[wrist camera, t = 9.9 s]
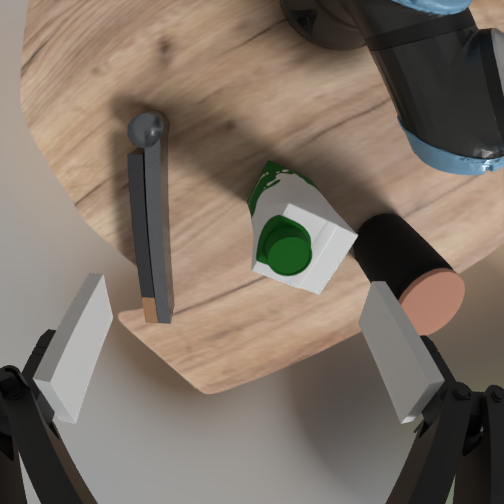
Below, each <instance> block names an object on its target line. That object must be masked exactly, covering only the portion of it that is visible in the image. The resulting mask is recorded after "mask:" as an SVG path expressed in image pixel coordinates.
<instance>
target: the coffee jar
mask: <svg viewBox="0 0 504 504" xmlns="http://www.w3.org/2000/svg"><path fill="white" fill-rule="evenodd" d="M357 235H358V237H357V238H356V240H355V244H354V254H355V259H356V260H357V262H358V263H359V265H360V267H361V268H362V270H363V271H364V273H365V275H366V276H367V278H368V279H369V281H370V283H372V281H385V282H386V284H387V285H388V287H389V288H390V290H391V291H392V293H393V294H394V296H395V297H396V299H397V301H398V302H399V304H400V305H401V307H402V308H403V310H404V312H405V313H406V315H407V316H408V318H409V320H410V321H411V323H412V325H413V326H414V328H415V330H416V331H417V333H418V335H419V336H421V335H426V336H427V335H429V334H431V333H434V332H436V331H437V330H439V329H440V328H441V327H443V326H444V325H445V324H446V323H448V321H449V320H450V319H451V318H452V317H453V316H454V315H455V313H456V312H457V310H458V309H459V307H460V305H461V303H462V300H463V297H464V290H465V287H464V283H463V279H462V278H461V277H460V276H459V275H458V274H457V273H456V272H455V271H454V270H453V268H452V267H451V266H450V265H449V264H448V263H447V262H446V261H445V260H444V259H443V258H442V257H441V256H440V255H439V254H438V253H437V251H436V250H435V249H434V248H433V247H432V246H431V245H430V244H429V243H427V242H426V241H425V240H424V239H423V238H422V237H421V236H420V235H419V234H418V233H417V232H416V231H415V230H414V229H413V228H412V227H411V226H410V225H409V224H408V223H407V222H406V221H405V220H403V219H402V218H401V217H399V216H397V215H394V214H382V215H379V216H376V217H373V218H372V219H370V220H369V221H367V222H366V223H365V224H364V225H363V226H362V227H361V229H360V230H359V232H358V234H357Z"/></svg>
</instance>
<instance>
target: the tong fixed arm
mask: <svg viewBox="0 0 504 504" xmlns="http://www.w3.org/2000/svg"><path fill="white" fill-rule="evenodd" d="M168 130H169V120H168V118H167V116H166V115H165V114H164V113H163V112H161V111H158V110H151V111H148V112H145V113H142V114H139V115H137V116H135V117H134V118H133V119H132V120H131V122H130V123H129V126H128V137H129V139H130V141H131V142H132V143H133V144H134V145H135V146H137V147H140V148H145V179H146V201H147V217H148V231H149V244H150V255H151V265H152V275H153V284H154V292H155V300H156V308H157V315H158V322H159V323H168V324H171V319H172V314H173V309H174V294H173V281H172V267H171V251H170V231H169V205H168Z"/></svg>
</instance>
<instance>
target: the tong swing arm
mask: <svg viewBox="0 0 504 504" xmlns="http://www.w3.org/2000/svg"><path fill="white" fill-rule="evenodd" d="M128 174H129V189H130V203H131V214H132V225H133V234H134V243H135V252H136V260H137V267H138V275H139V281H140V288H141V295H142V303H143V309H144V315H145V321H146V322H148V323H158V315H157V308H156V300H155V292H154V284H153V275H152V265H151V255H150V244H149V231H148V217H147V201H146V179H145V148H140V147H139V148H136V149H135V150H134V151H132V152H131V153H129V154H128Z"/></svg>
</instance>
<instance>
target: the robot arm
mask: <svg viewBox="0 0 504 504" xmlns="http://www.w3.org/2000/svg"><path fill="white" fill-rule="evenodd" d="M472 1H473V0H280V4H281V8H282V11H283V13H284V15H285V17H286V19H287V21H288V22H289V23H290V25H291V26H292V27H293V28H294V29H295V30H296V31H297V32H298V33H299V34H300V35H301V36H303V37H304V38H306V39H307V40H309V41H310V42H312V43H314V44H316V45H319V46H322V47H325V48H328V49H334V50H351V49H356V48H360V47H363V46H366V45H367V46H368V48H369V51H370V53H371V55H372V57H373V59H374V61H375V64H376V66H377V68H378V70H379V72H380V74H381V76H382V78H383V81H384V83H385V85H386V87H387V90H388V92H389V94H390V97H391V99H392V101H393V104H394V106H395V109H396V111H397V114H398V116H397V118H398V121H399V124H400V126H401V127H402V129H403V130H404V131H405V133H406V136H407V138H408V141H409V143H410V146H411V148H412V150H413V151H414V153H415V154H416V155H417V156H418V157H419V158H420V159H421V160H422V161H423V162H424V163H426V164H427V165H429V166H431V167H433V168H435V169H438V170H440V171H443V172H447V173H452V174H458V175H479V174H484V173H485V171H486V170H490V171H496V170H498V169H500V168H502V167H503V166H504V33H503V32H501V31H500V30H499V29H497V28H489V29H481V30H480V29H478V28H477V26H476V24H475V21H474V19H473V16H472V14H471V12H470V10H469V7H468V6H469V4H470V3H471V2H472ZM112 319H113V316H112V311H111V307H110V303H109V299H108V294H107V290H106V285H105V280H104V276H103V274H92V273H89V275H88V276H87V278H86V280H85V281H84V283H83V285H82V286H81V288H80V290H79V292H78V293H77V295H76V297H75V298H74V300H73V302H72V304H71V305H70V307H69V309H68V311H67V313H66V314H65V316H64V318H63V320H62V322H61V323H60V325H59V327H58V329H57V330H50V329H48V330H47V331H46V332H45V333H44V334H43V335H42V336H41V337H40V338H39V340H38V342H37V344H36V347H35V348H34V350H33V351H32V354H31V355H30V357H29V359H28V361H27V363H26V365H25V367H24V369H23V371H22V373H21V372H20V370H19V369H18V368H17V367H15V366H12V365H7V366H4V367H2V368H0V504H27V499H26V495H25V490H24V485H23V479H22V473H21V467H20V460H19V453H20V456H21V458H22V461H23V463H24V466H25V469H26V471H27V473H28V475H29V478H30V480H31V482H32V485H33V487H34V489H35V492H36V494H37V496H38V498H39V500H40V502H41V504H97V502H96V500H95V498H94V497H93V495H92V494H91V492H90V491H89V489H88V487H87V485H86V484H85V482H84V480H83V479H82V477H81V476H80V473H79V472H78V470H77V468H76V466H75V464H74V463H73V461H72V459H71V457H70V455H69V453H68V451H67V449H66V447H65V445H64V443H63V441H62V439H61V437H60V434H59V432H58V430H57V428H56V426H55V424H54V422H53V421H52V419H53V416H54V413H55V414H56V415H57V417H58V418H59V420H61V421H65V422H69V423H73V424H76V422H77V418H78V415H79V412H80V409H81V405H82V402H83V399H84V396H85V393H86V390H87V387H88V384H89V381H90V378H91V375H92V373H93V370H94V367H95V364H96V361H97V359H98V356H99V353H100V350H101V348H102V345H103V342H104V340H105V337H106V335H107V332H108V329H109V327H110V324H111V322H112ZM359 325H360V328H361V330H362V332H363V334H364V337H365V339H366V341H367V343H368V346H369V348H370V350H371V352H372V355H373V357H374V359H375V362H376V364H377V366H378V369H379V371H380V373H381V376H382V378H383V381H384V383H385V385H386V388H387V390H388V393H389V395H390V398H391V400H392V402H393V405H394V407H395V410H396V413H397V415H398V418H399V420H400V423H406V422H410V421H414V420H416V419H417V418H418V416H419V415H420V414H421V412H422V414H423V417H424V419H423V420H422V422H421V423H420V424H419V425H418V427H417V428H416V429H415V430H414V433H416V432H417V431H418V432H417V435H416V438H415V440H414V443H413V445H412V448H411V450H410V452H409V455H408V458H407V460H406V462H405V464H404V467H403V469H402V471H401V473H400V475H399V477H398V479H397V482H396V484H395V486H394V488H393V490H392V492H391V494H390V496H389V498H388V500H387V502H386V504H445V503H446V500H447V497H448V494H449V492H450V489H451V486H452V483H453V479H454V476H455V487H454V497H453V504H504V389H503V388H501V387H500V386H497V385H491V386H489V387H488V388H487V389H486V391H485V392H473V391H471V390H470V388H469V387H468V386H467V385H465V384H464V383H461V382H456V381H455V379H454V377H453V375H452V373H451V372H450V370H449V368H448V367H447V365H446V363H445V362H444V360H443V359H442V356H441V355H440V353H439V352H438V349H437V348H436V347H435V345H434V343H433V342H432V341H431V340H430V339H429V338H428V337H427V336H426V335H421V336H419V335H418V333H417V331H416V330H415V328H414V326H413V325H412V323H411V321H410V320H409V318H408V316H407V315H406V313H405V312H404V310H403V308H402V307H401V305H400V304H399V302H398V301H397V299H396V297H395V296H394V294H393V293H392V291H391V290H390V288H389V287H388V285H387V284H386V282H385V281H372V283H371V287H370V290H369V293H368V296H367V299H366V302H365V305H364V308H363V311H362V314H361V317H360V320H359ZM418 429H419V430H418ZM18 450H19V452H18ZM455 473H456V474H455Z"/></svg>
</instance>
